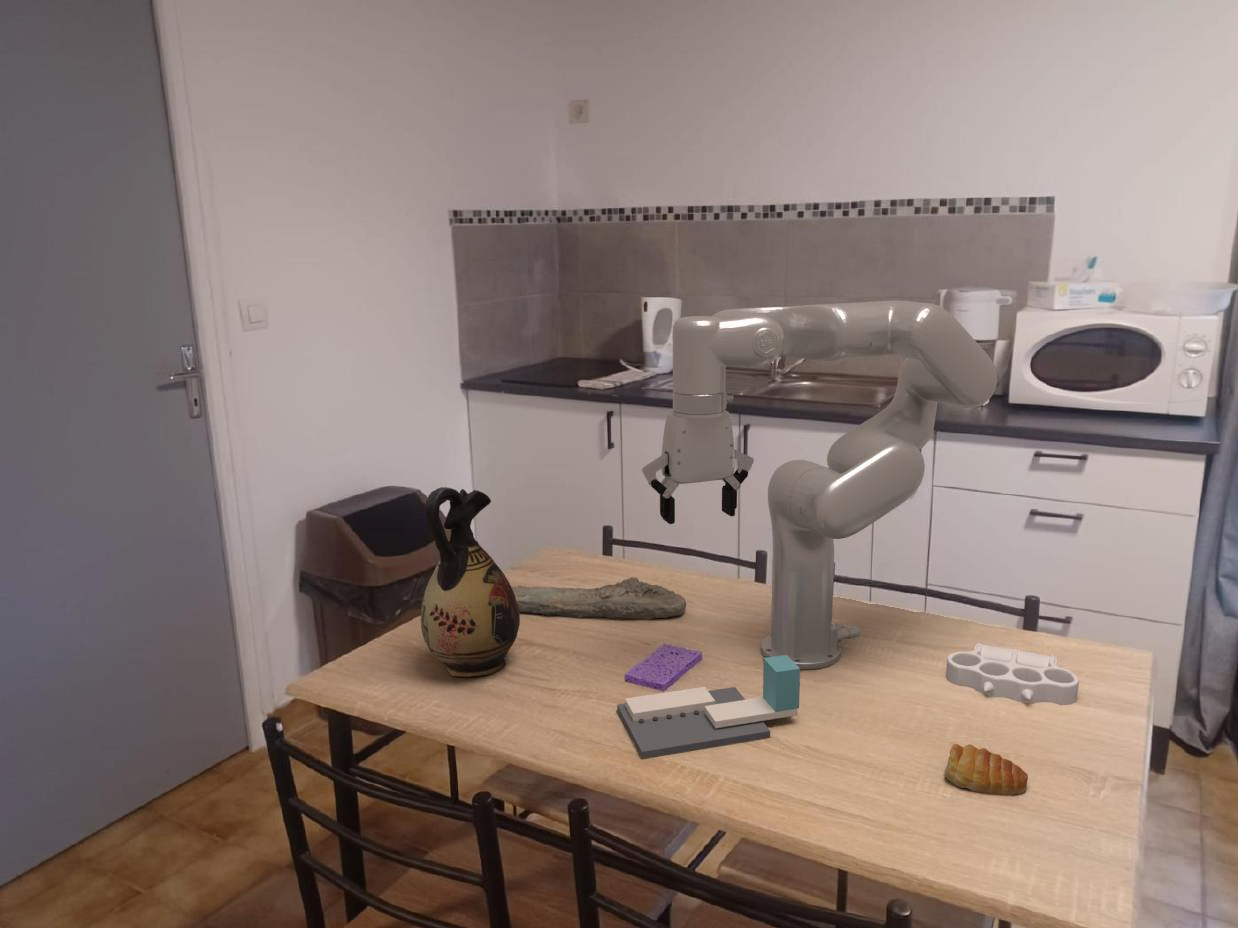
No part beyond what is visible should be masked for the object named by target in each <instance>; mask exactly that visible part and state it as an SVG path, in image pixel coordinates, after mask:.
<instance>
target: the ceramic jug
mask: <svg viewBox="0 0 1238 928" xmlns="http://www.w3.org/2000/svg"><path fill="white" fill-rule="evenodd" d="M447 501H449V509H448V513H447V515H446V518H445V521H444V522H443V523H442V519H441V518H440V508H441V506H442V504H445V503H446V502H447ZM491 502H492V500H491V498H490V497H489V496H488V495H487V494H486V493H484V492H483V491H480V490H477V489H474V490H472V491H470V492H467V491H466V490H465V489H464V488H461V490H459V491H458V490H457V489H454V488H452V487H451V488H450V487H447V486H446V487H444V486H442V487H441V486H440V487H439V488H436V489H435V490H433V491H431V492H430V493H429V494H428V496H427V499H426V501H425V504H426V505H425V518H426V523H427V526H428V527H429V531H430V532H431V537H433V540H434V542H435V546H436V549H437V550H438V552H439V561H438V563H437V564H436V565H435V569H434V570H433V572H432V575H430V578H429V579H428V582H427V585H426V587H425V590H424V592H423V597H422V602H421V608H420V609H421V611H420V627H421V633H422V637H423V641H424V642H425V644H426V645H427V647H428V649H429V651H430V652H431V653H432V654H433V655H434V656H436V658H438V659H439V660H440V662H441V663H443V664H444V666H445V667H446V669H447V671H448V674H449V675H451V677H465V678H466V677H478V676H479V677H480V676H487V675H491V674H493V673H495V672H498V671H500V670H501V669H503V668H505V666H506V657H507V654H508V653H509V651H510V650H511V648H512V647H513V645H514V644H515V641H516V639H517V637H518V632H519V630H520V624H521V617H520V616H521V615H520V613H521V612H519V608H518V604H517V601H516V597H515V594H514V592H513V590H512V587H513V586H511V584H510V581H509V580H508V577H506V576H507V575H505V573H504V572H503V571H502V569H501V568H500V567H499V565H498V564H497V563H496V562H495V560H494V558H492V556H491V555H490V554H489V553H488V552H487V551H486V550H485V549H484V548H483V547H482V546H481V545H480V543H479V542H478V541H477V540H476V538H475V537H474V532H473V530H472V528H471V526H472V525H471V524H472V521H473V520H474V519H475V517H476V516H477V515H478V514H479V513H480V512H481V511H483V510H484V509H485V508H486V507H487V506H489V505H490V504H491ZM445 529H446V530H450V537H449V539H448V537H447V534H446V531H445Z"/></svg>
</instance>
